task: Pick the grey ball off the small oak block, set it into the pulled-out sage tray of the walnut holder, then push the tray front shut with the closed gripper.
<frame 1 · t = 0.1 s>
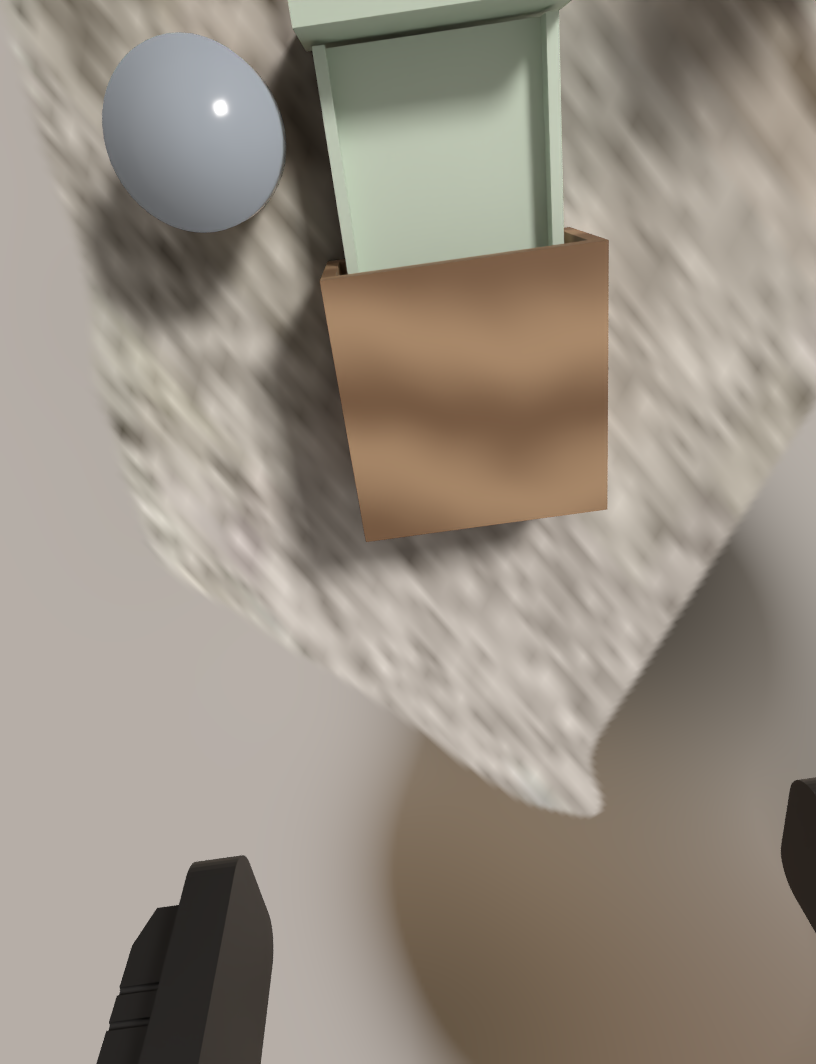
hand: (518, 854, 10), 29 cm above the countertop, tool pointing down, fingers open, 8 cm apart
grey ball: (203, 139, 28), point 4 cm above the countertop, touching oak block
tray: (448, 171, 29), point 3 cm above the countertop, slide at 8.0 cm
holder: (459, 368, 36), on the countertop
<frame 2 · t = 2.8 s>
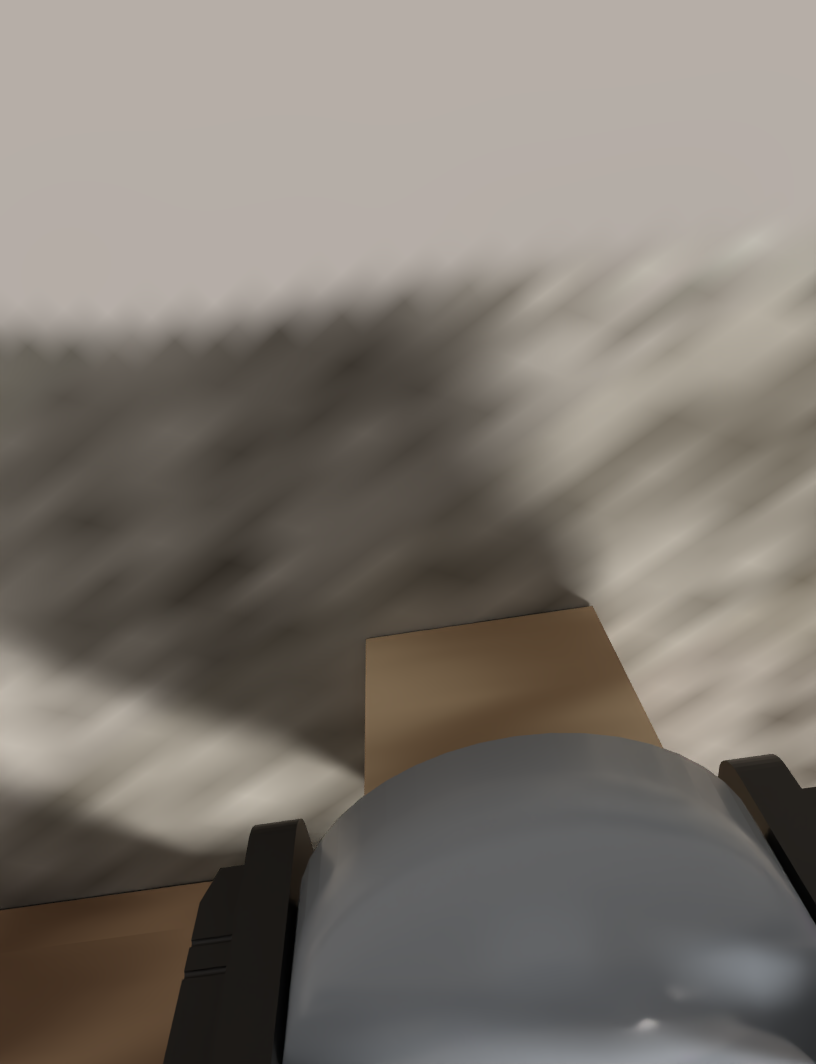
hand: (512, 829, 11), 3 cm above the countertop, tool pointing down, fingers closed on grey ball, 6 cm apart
grey ball: (531, 906, 10), point 4 cm above the countertop, touching gripper, oak block
oak block: (488, 708, 13), on the countertop
holder: (74, 1055, 18), on the countertop
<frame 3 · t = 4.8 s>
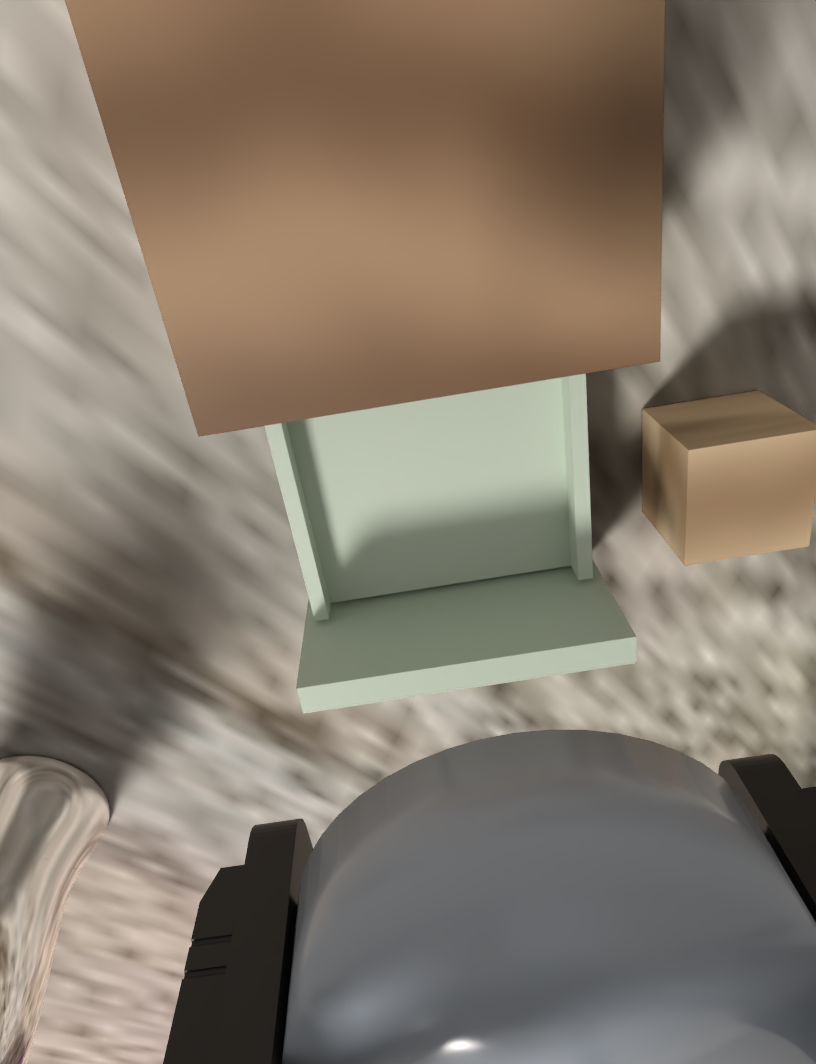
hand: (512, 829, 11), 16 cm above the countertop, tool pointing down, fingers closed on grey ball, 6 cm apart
grey ball: (530, 904, 10), point 17 cm above the countertop, touching gripper
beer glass: (42, 800, 32), on the countertop
tray: (434, 469, 22), point 3 cm above the countertop, slide at 8.0 cm
oak block: (697, 453, 25), on the countertop
holder: (382, 134, 20), on the countertop
when the fingers open (3 cm above the countertop, at t = 6.8 s): grey ball drops 2 cm, resting on tray.
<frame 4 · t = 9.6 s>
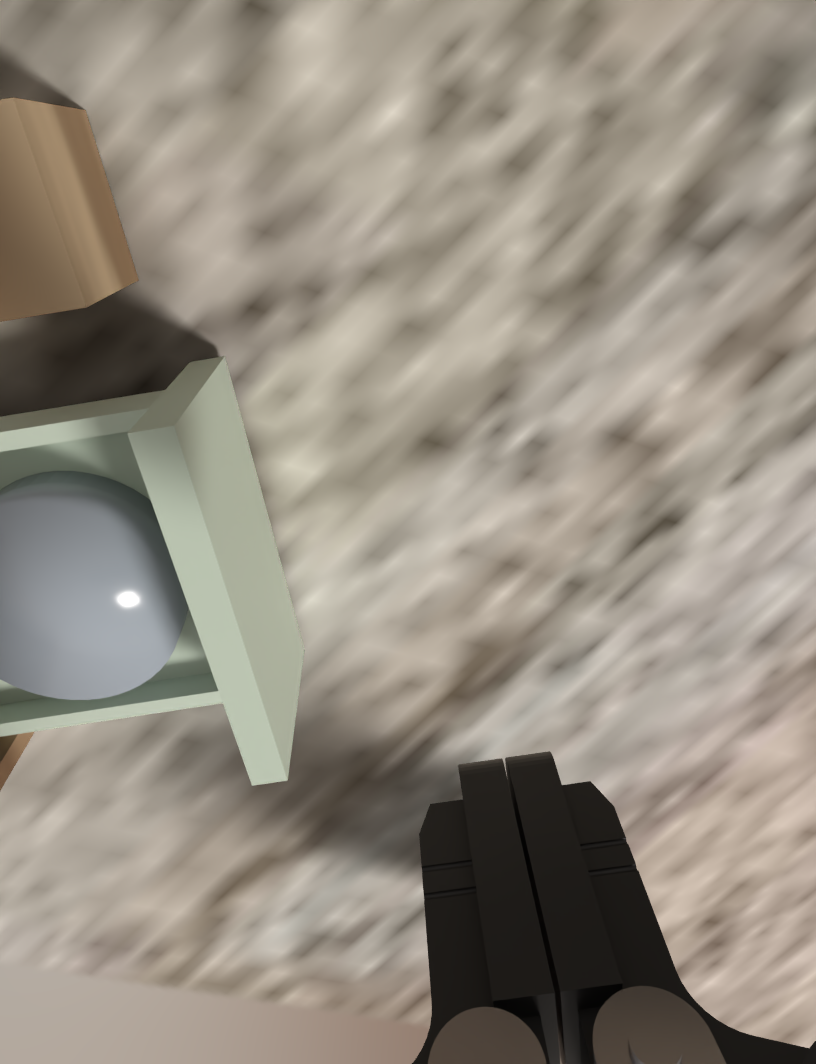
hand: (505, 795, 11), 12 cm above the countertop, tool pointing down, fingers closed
grey ball: (85, 570, 21), point 2 cm above the countertop, touching tray
tray: (40, 599, 20), point 3 cm above the countertop, slide at 8.0 cm, touching grey ball
oak block: (37, 212, 18), on the countertop
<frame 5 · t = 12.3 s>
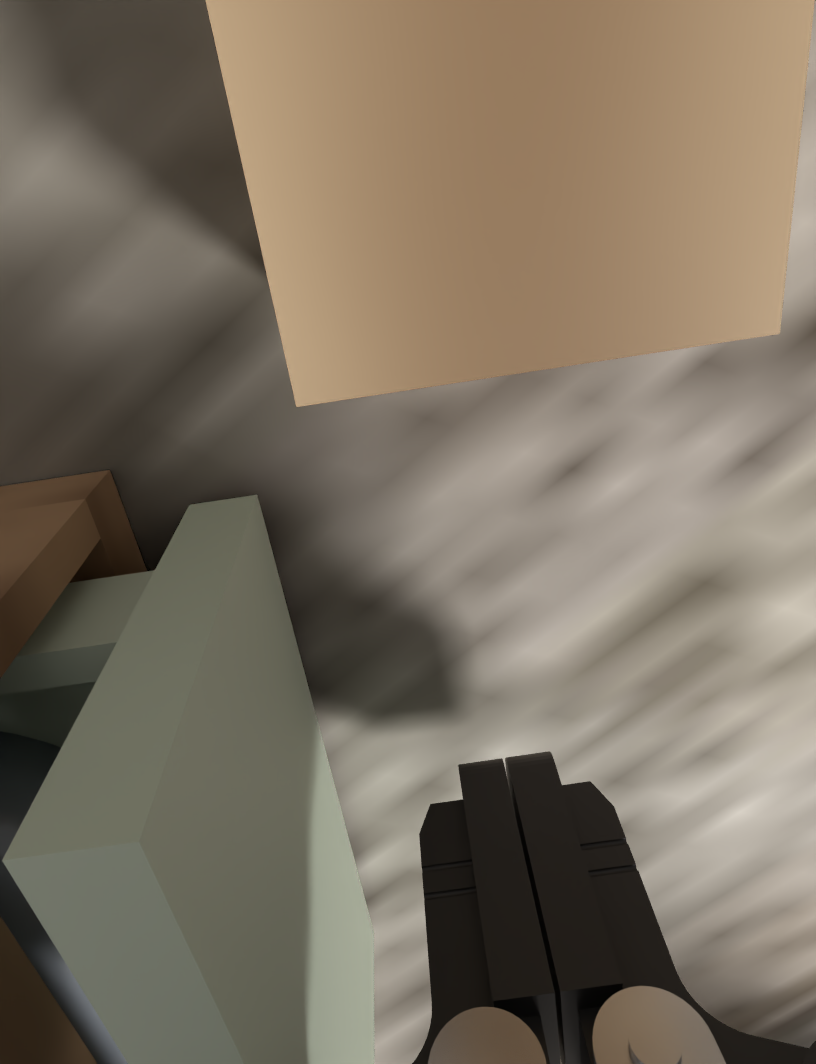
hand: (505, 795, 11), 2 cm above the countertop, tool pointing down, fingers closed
oak block: (457, 117, 8), on the countertop
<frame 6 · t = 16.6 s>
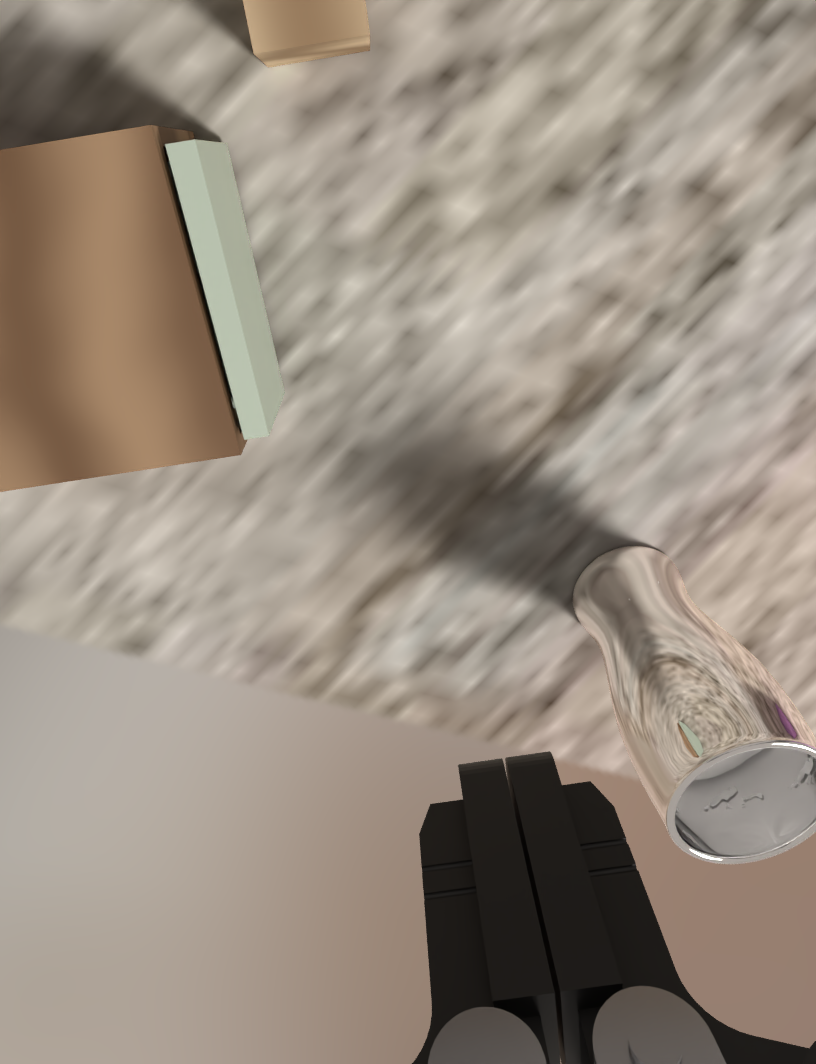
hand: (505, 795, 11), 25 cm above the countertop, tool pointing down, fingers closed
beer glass: (624, 590, 40), on the countertop
tray: (97, 312, 28), point 3 cm above the countertop, slide at 0.0 cm, touching grey ball
holder: (97, 302, 31), on the countertop
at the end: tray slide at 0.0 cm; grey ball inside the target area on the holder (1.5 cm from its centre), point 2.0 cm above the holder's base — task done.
